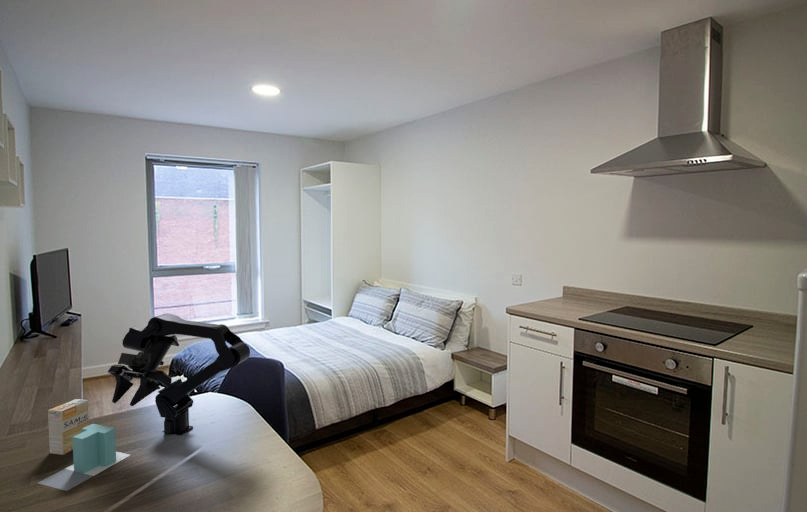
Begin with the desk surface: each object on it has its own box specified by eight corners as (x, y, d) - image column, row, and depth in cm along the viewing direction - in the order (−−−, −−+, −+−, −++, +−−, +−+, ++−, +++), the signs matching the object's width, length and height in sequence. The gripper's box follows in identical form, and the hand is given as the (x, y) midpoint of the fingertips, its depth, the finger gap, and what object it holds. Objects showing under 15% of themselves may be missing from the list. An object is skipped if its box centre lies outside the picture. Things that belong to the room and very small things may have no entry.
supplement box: (63, 457, 119) (61, 411, 118) (49, 455, 120) (46, 409, 119) (90, 443, 127) (88, 399, 126) (77, 441, 128) (75, 398, 127)
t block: (94, 455, 119) (92, 423, 118) (116, 460, 116) (115, 428, 116) (67, 469, 112) (65, 435, 111) (90, 475, 110) (89, 440, 109)
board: (103, 451, 122) (103, 448, 122) (131, 457, 119) (130, 454, 119) (37, 485, 106) (37, 482, 106) (66, 493, 103) (66, 490, 103)
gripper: (112, 337, 129) (76, 387, 119) (162, 343, 123) (128, 396, 113) (136, 356, 137) (104, 404, 127) (184, 362, 131) (155, 413, 121)
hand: (122, 404), depth 122 cm, fingers open, 6 cm apart
